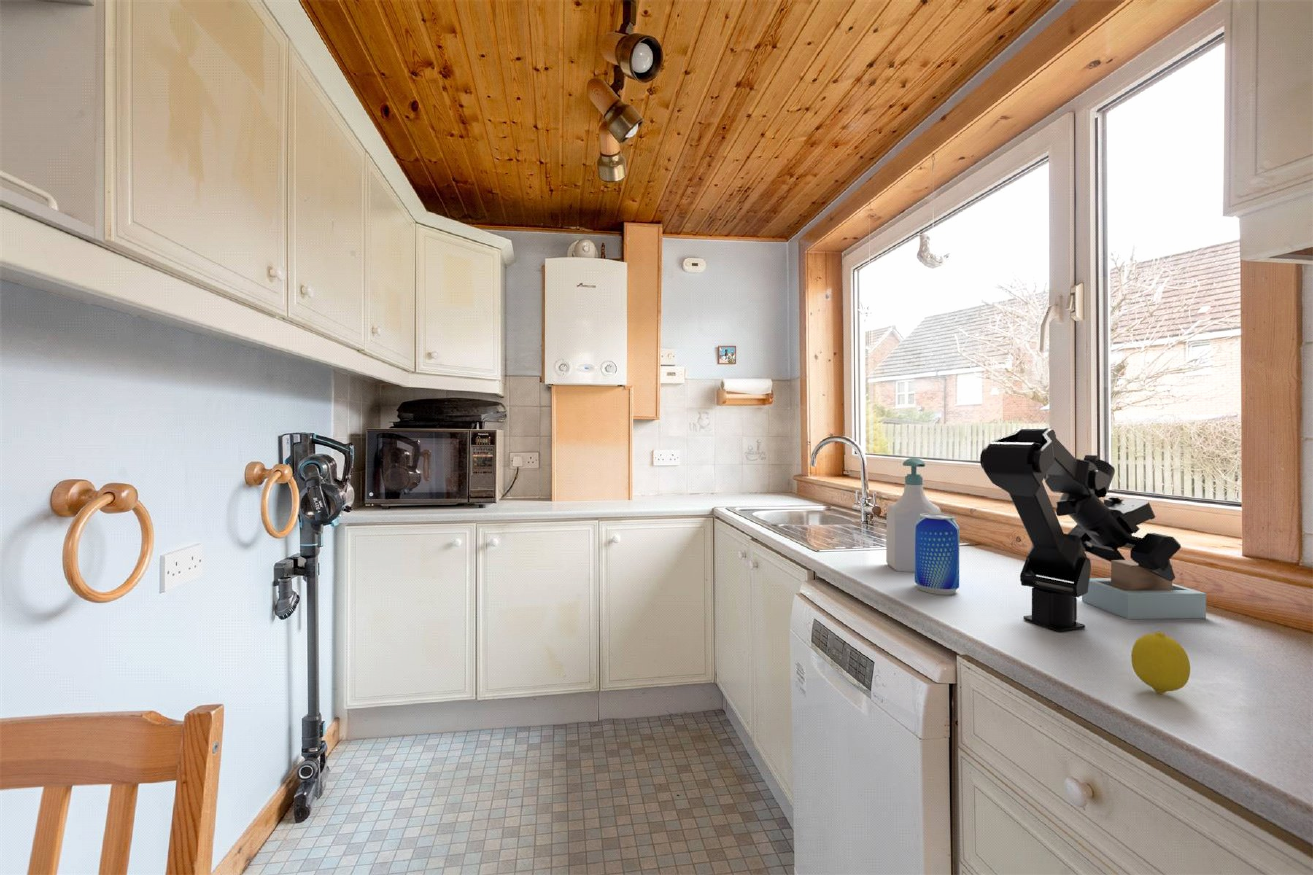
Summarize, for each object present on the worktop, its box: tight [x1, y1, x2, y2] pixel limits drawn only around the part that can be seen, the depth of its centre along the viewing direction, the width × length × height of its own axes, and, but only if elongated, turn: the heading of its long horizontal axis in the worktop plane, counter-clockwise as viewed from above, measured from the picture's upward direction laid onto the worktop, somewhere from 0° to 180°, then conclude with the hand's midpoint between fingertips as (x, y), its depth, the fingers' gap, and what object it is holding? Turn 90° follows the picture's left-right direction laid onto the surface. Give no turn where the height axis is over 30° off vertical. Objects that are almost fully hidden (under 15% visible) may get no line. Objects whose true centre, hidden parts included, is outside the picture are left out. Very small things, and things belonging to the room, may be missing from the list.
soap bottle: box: [885, 457, 942, 573], centre depth 129 cm, size 11×8×27 cm
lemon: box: [1130, 631, 1191, 694], centre depth 68 cm, size 6×6×8 cm
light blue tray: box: [1081, 577, 1207, 620], centre depth 100 cm, size 14×10×4 cm
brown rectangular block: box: [1110, 559, 1173, 591], centre depth 100 cm, size 8×4×9 cm, turn 91°
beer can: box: [914, 513, 960, 596], centre depth 112 cm, size 8×8×16 cm
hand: (1148, 572), depth 100 cm, fingers open, 9 cm apart
